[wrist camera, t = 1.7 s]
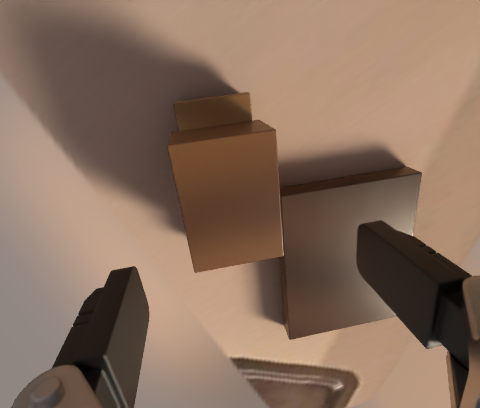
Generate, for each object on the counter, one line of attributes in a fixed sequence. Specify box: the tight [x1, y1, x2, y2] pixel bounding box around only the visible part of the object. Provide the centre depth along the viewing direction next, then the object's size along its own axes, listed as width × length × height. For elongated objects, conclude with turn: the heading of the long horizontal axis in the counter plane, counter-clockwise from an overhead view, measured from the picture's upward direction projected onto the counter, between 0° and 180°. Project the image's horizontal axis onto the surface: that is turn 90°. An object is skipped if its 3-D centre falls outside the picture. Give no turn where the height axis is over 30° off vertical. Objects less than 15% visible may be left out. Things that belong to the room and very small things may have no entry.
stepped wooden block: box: [167, 92, 284, 273], centre depth 17 cm, size 10×5×5 cm, turn 7°
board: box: [280, 167, 422, 340], centre depth 23 cm, size 13×10×2 cm
